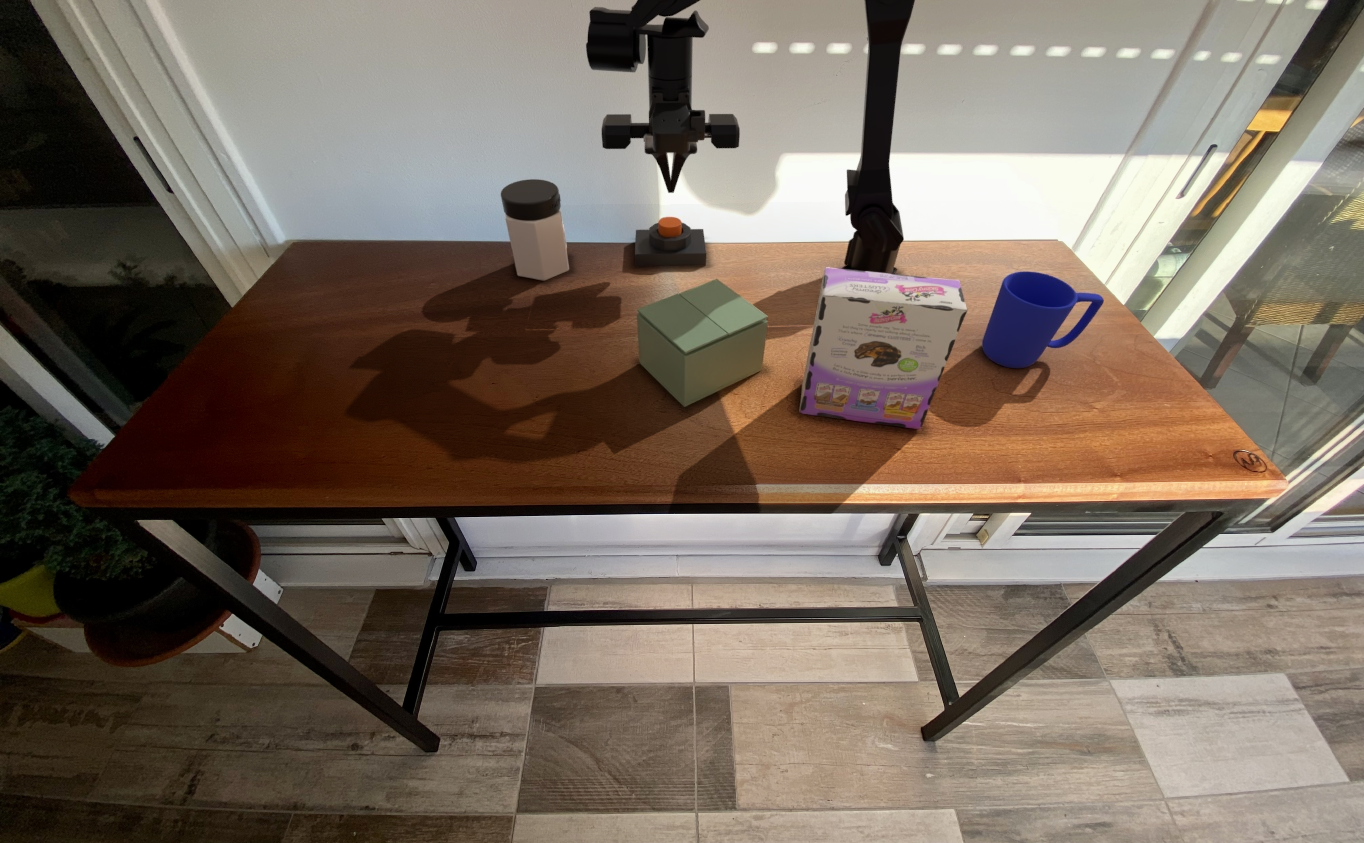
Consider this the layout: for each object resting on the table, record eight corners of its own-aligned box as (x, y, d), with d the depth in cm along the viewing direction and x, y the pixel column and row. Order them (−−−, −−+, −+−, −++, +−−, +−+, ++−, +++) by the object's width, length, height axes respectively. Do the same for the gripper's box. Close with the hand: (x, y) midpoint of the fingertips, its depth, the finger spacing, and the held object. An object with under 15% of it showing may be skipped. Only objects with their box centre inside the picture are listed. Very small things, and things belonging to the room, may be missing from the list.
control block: (702, 241, 99) (703, 218, 96) (705, 266, 93) (706, 242, 90) (636, 241, 98) (635, 219, 96) (635, 267, 93) (634, 243, 90)
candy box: (916, 398, 72) (963, 277, 60) (920, 432, 68) (970, 310, 56) (801, 382, 74) (824, 262, 62) (798, 414, 69) (822, 293, 58)
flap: (716, 280, 75) (716, 278, 75) (768, 318, 70) (768, 316, 69) (678, 295, 73) (678, 293, 73) (728, 335, 67) (728, 333, 67)
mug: (1082, 377, 75) (1125, 309, 68) (986, 375, 75) (1018, 308, 68) (1055, 337, 80) (1091, 271, 73) (965, 335, 81) (993, 270, 73)
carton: (714, 331, 81) (717, 278, 75) (762, 370, 75) (769, 316, 69) (639, 363, 76) (636, 309, 70) (684, 407, 70) (685, 352, 64)
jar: (572, 278, 90) (561, 201, 82) (517, 284, 89) (500, 207, 80) (567, 249, 96) (556, 175, 88) (515, 254, 95) (500, 180, 87)
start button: (681, 227, 94) (681, 216, 93) (681, 238, 92) (682, 227, 91) (658, 227, 94) (658, 216, 93) (658, 238, 92) (658, 227, 91)
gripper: (593, 94, 71) (604, 217, 83) (748, 93, 72) (738, 216, 83) (599, 67, 79) (609, 183, 90) (739, 67, 80) (731, 182, 91)
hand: (670, 191), depth 88 cm, fingers closed
